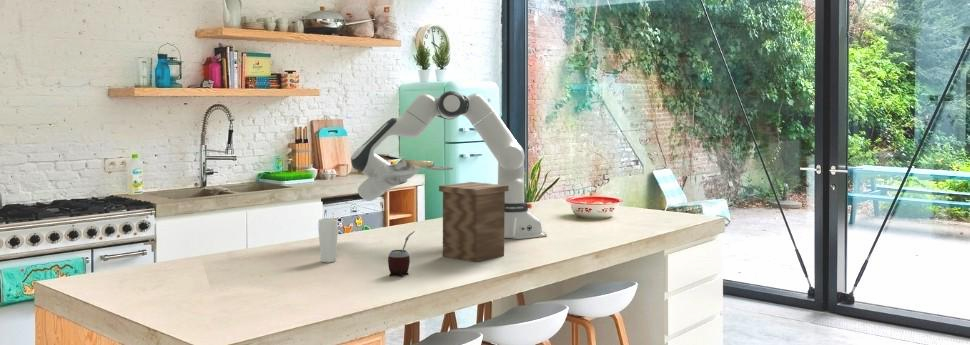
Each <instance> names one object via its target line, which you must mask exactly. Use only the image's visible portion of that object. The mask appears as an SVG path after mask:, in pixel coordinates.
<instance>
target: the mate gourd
mask: <svg viewBox="0 0 970 345" xmlns="http://www.w3.org/2000/svg"><path fill="white" fill-rule="evenodd" d="M414 233H416V232H415V230H414V231H412V232H410V233H409V234H408V235H407V236H406V237H405V242H404V244H403V246H402V249H393V250H391V251H390V252H389V254H388V258H387V265H388V270H389V277H395V276H397V277H399V278H402V277H403V276H409V268H410V263H411V259H410V254H409V252H408V251H407V250H405V248H406V246H407V242H408V241H409V238H410V236H411V235H413V234H414Z"/></svg>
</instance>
